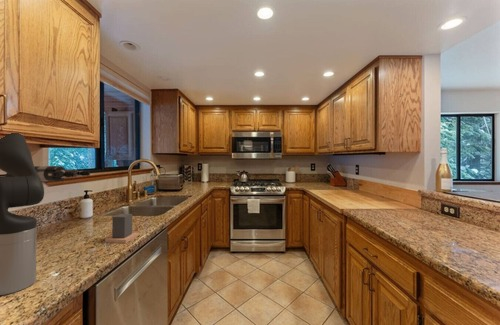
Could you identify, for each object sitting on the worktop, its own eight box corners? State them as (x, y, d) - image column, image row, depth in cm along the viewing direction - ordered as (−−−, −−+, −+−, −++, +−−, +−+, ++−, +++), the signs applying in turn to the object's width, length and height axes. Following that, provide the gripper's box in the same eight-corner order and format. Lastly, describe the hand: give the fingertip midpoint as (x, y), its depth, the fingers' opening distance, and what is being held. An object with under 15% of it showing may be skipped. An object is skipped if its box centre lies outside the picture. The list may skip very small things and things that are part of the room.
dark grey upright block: (124, 238, 101) (124, 217, 100) (112, 237, 101) (112, 216, 101) (132, 233, 106) (132, 214, 106) (120, 233, 107) (120, 213, 107)
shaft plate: (125, 243, 98) (126, 222, 98) (105, 242, 99) (105, 222, 99) (138, 235, 108) (138, 217, 108) (119, 235, 109) (119, 216, 109)
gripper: (35, 166, 97) (68, 166, 96) (64, 165, 111) (93, 166, 110) (35, 182, 97) (68, 183, 96) (64, 180, 111) (93, 180, 110)
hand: (81, 174), depth 103 cm, fingers open, 8 cm apart
